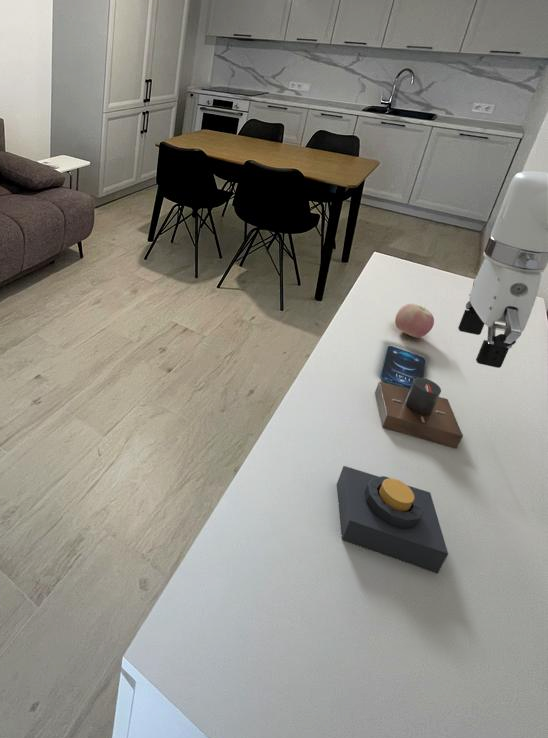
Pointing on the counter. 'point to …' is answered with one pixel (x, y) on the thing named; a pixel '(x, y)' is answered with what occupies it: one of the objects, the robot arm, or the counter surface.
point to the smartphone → (402, 367)
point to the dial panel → (417, 417)
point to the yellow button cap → (396, 494)
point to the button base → (389, 522)
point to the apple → (414, 320)
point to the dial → (423, 396)
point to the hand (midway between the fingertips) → (477, 347)
